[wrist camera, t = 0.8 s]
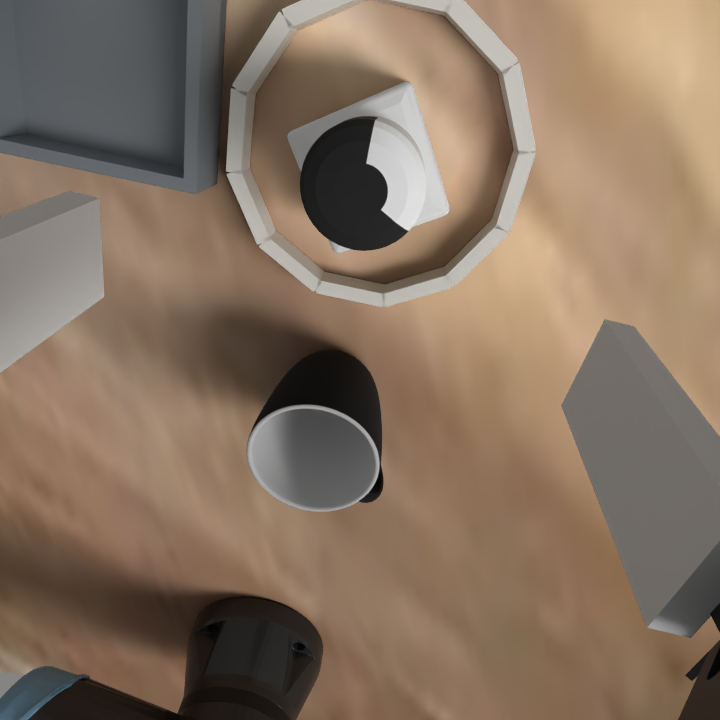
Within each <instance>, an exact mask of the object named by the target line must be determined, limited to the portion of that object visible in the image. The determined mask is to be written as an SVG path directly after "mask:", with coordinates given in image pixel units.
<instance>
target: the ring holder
mask: <svg viewBox="0 0 720 720" xmlns="http://www.w3.org/2000/svg"><path fill="white" fill-rule="evenodd" d="M365 1H367V0H301V1H298V2H296V3H294V4H292V5H289V6H287V7H285V8H283V9H282V12H283V13H281V12H280V11H279V12H278V14H277V15H276V17H275V18H274V20H273V22H272V23H271V25H270V26H269V28H268V29H267V31H266V33H265V34H264V36H263V37H262V39H261V40H260V42H259V43H258V45H257V47H256V48H255V50H254V51H253V53H252V54H251V56H250V58H249V59H248V61H247V62H246V64H245V65H244V67H243V68H242V70H241V72H240V73H239V75H238V76H237V78H236V79H235V81H234V83H233V84H232V86H233V87H234V88H231V94H230V111H229V128H228V144H227V161H226V172H230V173H228V174H226V175H227V177H228V179H229V181H230V184H231V186H232V188H233V191H234V193H235V195H236V197H237V200H238V202H239V204H240V207H241V209H242V211H243V213H244V216H245V218H246V220H247V223H248V225H249V227H250V229H251V232H252V234H253V236H254V238H255V241H256V243H257V245H258V244H261V243H262V244H261V245H260V246H259V247H260V248H261V249H262V250H263V251H264V252H266V253H267V254H268V255H269V256H271V257H272V258H273V259H274V260H275V261H277V262H278V263H279V264H280V265H281V266H283V267H284V268H285V269H286V270H288V271H289V272H290V273H291V274H292V275H294V276H295V277H296V278H297V279H298V280H300V281H301V282H302V283H303V284H304V285H306V286H307V287H308V288H309V289H311V290H312V291H313V292H314V291H315V290H316V289H317V290H316V293H318V294H322V295H327V296H332V297H336V298H341V299H346V300H351V301H355V302H360V303H365V304H369V305H374V306H379V307H383V304H384V305H385V307H388V306H391V305H395V304H398V303H402V302H405V301H409V300H412V299H415V298H419V297H422V296H426V295H429V294H433V293H436V292H440V291H443V290H447V289H450V288H452V285H453V286H456V285H457V284H458V283H459V282H460V281H461V280H462V279H463V278H464V277H465V276H466V275H467V274H468V273H469V272H470V271H471V270H472V269H473V268H474V267H475V266H476V265H477V264H478V263H479V262H480V261H481V260H482V259H484V258H485V257H486V256H487V255H488V254H489V253H490V252H491V251H492V250H493V249H494V248H495V247H496V246H497V245H498V244H499V243H500V242H501V241H502V240H503V239H504V238H505V237H506V236H507V235H508V233H507V231H508V232H510V231H511V227H512V224H513V221H514V218H515V215H516V212H517V209H518V206H519V203H520V200H521V197H522V194H523V191H524V188H525V185H526V182H527V179H528V176H529V173H530V170H531V167H532V164H533V161H534V157H535V154H536V153H534V152H533V151H535V150H536V147H535V142H534V136H533V131H532V126H531V120H530V115H529V110H528V104H527V99H526V94H525V88H524V83H523V78H522V72H521V67H520V63H517V64H515V63H516V62H517V61H518V59H517V58H516V57H515V56H514V55H513V54H512V52H511V51H510V50H509V49H508V48H507V47H506V46H505V45H504V44H503V43H502V41H501V40H500V39H499V38H498V37H497V36H496V35H495V34H494V33H493V32H492V30H491V29H490V28H489V27H488V26H487V25H486V24H485V23H484V22H483V21H482V19H481V18H480V17H479V16H478V15H477V14H476V13H475V12H474V11H473V10H472V9H471V7H470V6H469V5H468V4H467V3H466V2H465V1H464V0H373V1H377V2H382V3H386V4H391V5H396V6H400V7H405V8H410V9H414V10H419V11H424V12H428V13H433V14H438V15H442V16H445V17H446V18H447V19H448V20H449V21H450V22H451V24H452V25H453V26H454V27H455V28H456V29H457V30H458V31H459V32H460V33H461V34H462V35H463V36H464V38H465V39H466V40H467V41H468V42H469V43H470V44H471V45H472V46H473V47H474V48H475V49H476V50H477V51H478V53H479V54H480V55H481V56H482V57H483V58H484V59H485V60H486V61H487V62H488V63H489V64H490V65H491V66H492V68H493V69H494V70H495V71H496V72H497V73H498V76H499V81H500V86H501V91H502V96H503V101H504V105H505V110H506V115H507V120H508V125H509V130H510V135H511V140H512V145H513V153H512V156H511V159H510V162H509V166H508V169H507V172H506V175H505V179H504V182H503V185H502V188H501V192H500V195H499V198H498V201H497V204H496V208H495V211H494V214H493V217H492V220H491V221H490V222H489V223H488V224H487V225H486V226H485V227H484V228H483V229H482V230H481V231H480V232H479V233H478V234H477V235H476V236H475V237H474V238H473V239H472V240H471V241H470V242H469V243H468V244H467V245H466V246H465V247H464V248H463V249H462V250H461V251H460V252H459V253H458V254H457V255H456V256H455V257H454V258H453V259H452V260H451V261H450V262H449V263H448V264H447V265H446V266H445V267H441V268H438V269H435V270H431V271H428V272H425V273H421V274H418V275H415V276H411V277H408V278H405V279H401V280H398V281H395V282H391V283H388V284H380V283H376V282H371V281H366V280H361V279H357V278H352V277H347V276H342V275H338V274H333V273H328V272H324V271H323V270H322V269H321V268H320V267H319V266H317V265H316V264H315V263H314V262H313V261H311V260H310V259H309V258H308V257H307V256H305V255H304V254H303V253H302V252H301V251H300V250H298V249H297V248H296V247H295V246H294V245H292V244H291V243H290V242H289V241H288V240H286V239H285V238H284V237H283V236H282V235H281V234H279V233H278V232H277V231H276V229H275V227H274V225H273V222H272V220H271V218H270V215H269V213H268V210H267V208H266V206H265V203H264V201H263V198H262V196H261V194H260V191H259V189H258V186H257V184H256V182H255V179H254V177H253V174H252V172H251V170H250V157H251V145H252V132H253V120H254V107H255V95H256V93H257V91H258V90H259V88H260V87H261V85H262V84H263V82H264V81H265V79H266V78H267V76H268V75H269V73H270V72H271V70H272V69H273V67H274V66H275V64H276V63H277V61H278V60H279V58H280V57H281V55H282V54H283V52H284V51H285V49H286V48H287V46H288V45H289V43H290V42H291V40H292V39H293V37H294V36H295V34H296V33H297V31H298V30H300V29H303V28H305V27H307V26H310V25H312V24H314V23H316V22H319V21H321V20H323V19H326V18H328V17H330V16H332V15H335V14H337V13H339V12H342V11H344V10H346V9H349V8H351V7H353V6H355V5H358V4H360V3H362V2H365Z"/></svg>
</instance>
